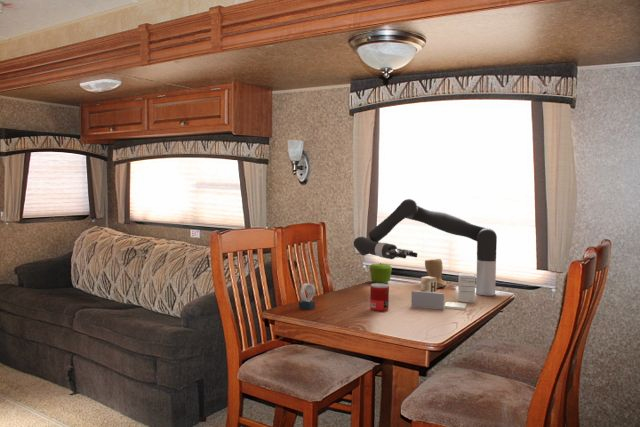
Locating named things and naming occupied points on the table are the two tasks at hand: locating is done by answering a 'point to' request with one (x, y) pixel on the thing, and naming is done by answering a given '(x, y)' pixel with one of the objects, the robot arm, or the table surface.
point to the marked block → (428, 284)
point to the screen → (427, 300)
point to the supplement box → (466, 287)
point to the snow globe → (307, 303)
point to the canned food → (379, 297)
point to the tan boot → (435, 270)
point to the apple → (380, 273)
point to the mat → (455, 305)
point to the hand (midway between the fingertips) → (411, 255)
